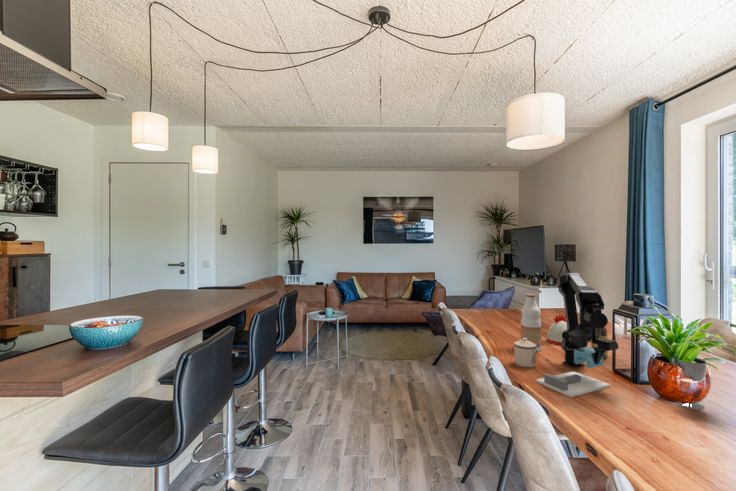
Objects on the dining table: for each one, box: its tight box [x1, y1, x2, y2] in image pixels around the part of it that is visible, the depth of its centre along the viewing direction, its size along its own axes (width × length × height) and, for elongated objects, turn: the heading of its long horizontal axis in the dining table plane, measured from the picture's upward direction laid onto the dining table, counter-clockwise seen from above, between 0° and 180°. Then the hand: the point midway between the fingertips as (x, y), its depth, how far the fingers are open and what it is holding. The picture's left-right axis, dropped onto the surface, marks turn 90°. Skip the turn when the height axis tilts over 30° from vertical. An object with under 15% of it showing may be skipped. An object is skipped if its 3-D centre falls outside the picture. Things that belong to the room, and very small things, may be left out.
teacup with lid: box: [513, 338, 537, 368], centre depth 148 cm, size 12×9×12 cm
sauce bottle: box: [590, 326, 609, 360], centre depth 156 cm, size 6×6×20 cm
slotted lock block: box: [574, 346, 604, 369], centre depth 129 cm, size 8×6×6 cm
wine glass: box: [672, 356, 707, 411], centre depth 109 cm, size 8×8×15 cm
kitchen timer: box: [546, 314, 567, 346], centre depth 180 cm, size 14×14×15 cm
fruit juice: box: [520, 293, 542, 352], centre depth 169 cm, size 9×9×28 cm
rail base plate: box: [536, 371, 610, 398], centre depth 125 cm, size 21×14×4 cm, turn 113°
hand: (588, 361), depth 129 cm, fingers closed on slotted lock block, 6 cm apart
